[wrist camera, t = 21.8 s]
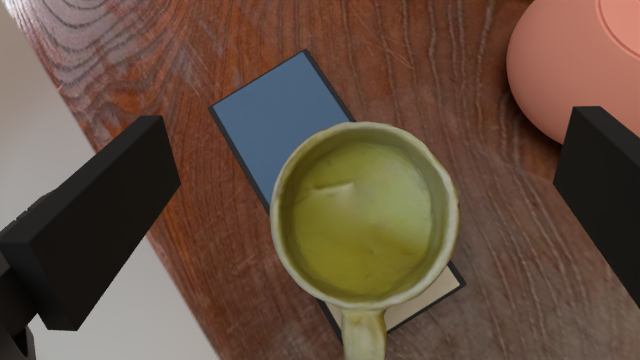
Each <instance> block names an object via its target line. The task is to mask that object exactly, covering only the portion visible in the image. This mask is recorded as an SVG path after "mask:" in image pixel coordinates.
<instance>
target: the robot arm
mask: <svg viewBox="0 0 640 360" xmlns="http://www.w3.org/2000/svg"><path fill="white" fill-rule="evenodd" d="M180 185H181V182H180V178H179V175H178V171H177V168H176V164H175V160H174V157H173V153H172V150H171V146H170V142H169V139H168V135H167V132H166V128H165V124H164V121H163V117H162V115H154V116H140V117H139V118H138V119H136V120H135V121H134V122H133V123H132V124H131V125H129V126H128V127H127V128H126V129H125V130H124V131H123V132H121V133H120V134H119V135H118V136H117V137H116V138H114V139H113V140H112V141H111V142H110V143H109V144H107V145H106V146H105V147H104V148H103V149H102V150H101V151H99V152H98V153H97V154H96V155H95V156H94V157H92V158H91V159H90V160H89V161H88V162H87V163H85V164H84V165H83V166H82V167H81V168H80V169H79V170H77V171H76V172H75V173H74V174H73V175H72V176H71V177H69V178H68V179H67V180H66V181H65V182H64V183H62V184H61V185H60V186H59V187H58V188H56V189H55V190H53V191H51V192H49V193H47V194H46V195H44V196H42V197H40V198H39V199H38V200H37V201H36V202H35V203H33V204H32V205H31V206H30V207H29V208H28V210H27V211H24V212H23V213H22V214H21V215H19V216H18V217H17V218H16V219H17V220H16V221H15V220H14V221H12V222H11V223H10V224H9V225H8V226H6V227H5V228H4V229H3V230H2V231H0V360H36V355H35V346H34V338H33V334H32V333H31V331H30V329H29V327H28V326H27V325H28V323H29V322H30V321H31V320H32V319H33V318H34V316H35V315H36V314H37V313H38V314H39V316H40V318H41V319H42V321H43V322H44V324H45V326H46V328H47V329H48V330H65V331H77V330H78V329H79V327H80V326H81V325H82V323H83V322H84V320H85V319H86V317H87V316H88V315H89V313H90V312H91V311H92V309H93V308H94V306H95V305H96V303H97V302H98V300H99V299H100V298H101V296H102V295H103V294H104V292H105V291H106V289H107V288H108V287H109V285H110V284H111V282H112V281H113V279H114V278H115V276H116V275H117V274H118V272H119V271H120V270H121V268H122V267H123V265H124V264H125V262H126V261H127V260H128V258H129V257H130V255H131V254H132V253H133V251H134V250H135V248H136V247H137V245H138V244H139V243H140V241H141V240H142V238H143V237H144V236H145V234H146V233H147V231H148V230H149V229H150V227H151V226H152V224H153V223H154V222H155V220H156V219H157V217H158V216H159V215H160V213H161V212H162V210H163V209H164V207H165V206H166V205H167V203H168V202H169V200H170V199H171V198H172V196H173V195H174V193H175V192H176V191H177V189H178V188H179V186H180ZM553 185H554V186H555V188H556V189H557V190H558V192H559V193H560V195H561V196H562V198H563V199H564V201H565V202H566V203H567V205H568V206H569V208H570V209H571V211H572V212H573V213H574V215H575V216H576V218H577V219H578V221H579V222H580V224H581V225H582V226H583V228H584V229H585V231H586V232H587V234H588V235H589V237H590V238H591V239H592V241H593V242H594V244H595V245H596V247H597V248H598V250H599V251H600V252H601V254H602V255H603V257H604V258H605V260H606V261H607V263H608V264H609V265H610V267H611V268H612V270H613V271H614V273H615V274H616V276H617V277H618V278H619V280H620V281H621V283H622V284H623V286H624V287H625V288H626V290H627V291H628V293H629V294H630V296H631V297H632V299H633V300H634V301H635V303H636V304H637V306H638V307H639V309H640V138H639V137H638V136H637V135H636V134H634V133H633V132H632V131H631V130H629V129H628V128H627V127H626V126H624V125H623V124H622V123H621V122H619V121H618V120H617V119H616V118H615V117H613V116H612V115H611V114H610V113H608V112H607V111H606V110H605V109H603V108H602V107H601V106H573V108H572V112H571V116H570V120H569V124H568V127H567V131H566V135H565V139H564V142H563V146H562V150H561V154H560V158H559V161H558V165H557V169H556V173H555V177H554V180H553Z"/></svg>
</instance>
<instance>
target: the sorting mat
mask: <svg viewBox="0 0 640 360" xmlns="http://www.w3.org/2000/svg"><path fill="white" fill-rule="evenodd" d="M208 110H209V111H210V113H211V115H212V117H213V118H214V120H215V122H216V124H217V125H218V127H219V129H220V131H221V132H222V134H223V136H224V138H225V139H226V141H227V143H228V145H229V146H230V148H231V150H232V152H233V153H234V155H235V157H236V159H237V160H238V162H239V164H240V166H241V167H242V169H243V171H244V173H245V174H246V176H247V178H248V180H249V181H250V183H251V185H252V187H253V189H254V190H255V192H256V194H257V196H258V197H259V199H260V201H261V203H262V204H263V206H264V208H265V210H266V211H267V213H268V215H269V217H270V203H271V198H272V193H273V189H274V185H275V182H276V179H277V177H278V175H279V173H280V171H281V169H282V167H283V165H284V163H285V162H286V160H287V159H288V157H289V156H290V154H291V153H292V152H293V151H294V150H295V149H296V148H297V147H298V146H299V145H300V144H301V143H302V142H303V141H304V140H306V139H307V138H308V137H309V136H310V135H312V134H314V133H316V132H318V131H320V130H324V129H327V128H329V127H331V126H334V125H337V124H340V123H343V122H356V121H355V119H354V118H353V116H352V115H351V113H350V112H349V110H348V109H347V108H346V106H345V105H344V103H343V102H342V100H341V99H340V97H339V96H338V94H337V93H336V91H335V90H334V88H333V87H332V86H331V84H330V83H329V81H328V80H327V78H326V77H325V75H324V74H323V72H322V71H321V69H320V68H319V66H318V65H317V63H316V62H315V61H314V59H313V58H312V56H311V55H310V53H309V52H308V50H307V49H304V50H302V51H301V52H299V53H297V54H296V55H294V56H292V57H291V58H289V59H287V60H286V61H284V62H282V63H281V64H279V65H278V66H276V67H274V68H273V69H271V70H269V71H268V72H266V73H264V74H263V75H261V76H259V77H258V78H256V79H254V80H253V81H251V82H250V83H248V84H246V85H245V86H243V87H241V88H240V89H238V90H236V91H235V92H233V93H231V94H230V95H228V96H226V97H225V98H223V99H222V100H220V101H218V102H217V103H215V104H213V105H212V106H210V107H208ZM447 266H448V268H449V269H450V271H451V272H452V274H453V275H454V277H455V278H456V280H457V281H458V283H459V284H460V285H459V286H458V287H456V288H454V289H453V290H451V291H450V292H448V293H447V294H445V295H443V296H442V297H440V298H439V299H437V300H435V301H434V302H432V303H431V304H429V305H427V306H426V307H424V308H423V309H421V310H419V311H418V312H416V313H415V314H413V315H411V316H410V317H408V318H407V319H405V320H403V321H402V322H400V323H399V324H397V325H396V326H394V327H392V328H391V329H389V330H388V331H387V334H389V333H390V332H392V331H393V330H395V329H397V328H398V327H400V326H401V325H403V324H405V323H406V322H408V321H409V320H411V319H413V318H414V317H416V316H417V315H419V314H421V313H422V312H424V311H425V310H427V309H428V308H430V307H432V306H433V305H435V304H436V303H438V302H440V301H441V300H443V299H444V298H446V297H448V296H449V295H451V294H452V293H454V292H456V291H457V290H459V289H460V288H462V287H464V286H465V285H466V282H465V281H464V279H463V278H462V276H461V275H460V273H459V272H458V270H457V269H456V268H455V266H454V265H453V263H452V262H451V260H450V261H449V263H448V264H447ZM316 299H317V301H318V303H319V304H320V306H321V308H322V310H323V311H324V313H325V315H326V317H327V318H328V320H329V322H330V324H331V325H332V327H333V329H334V331H335V332H336V334H337V336H338V338H339V339H340V341H341V343H342V345H343V340H342V334H341V329H340V327H339V325H338V324H337V322H336V320H335V319H334V317H333V315H332V313H331V312H330V310H329V308H328V306H327V305H326V303H325V301H323V300H320V299H318V298H316ZM387 334H386V335H387Z"/></svg>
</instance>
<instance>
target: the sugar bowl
mask: <svg viewBox="0 0 640 360" xmlns="http://www.w3.org/2000/svg"><path fill="white" fill-rule="evenodd" d="M506 60H507V75H508V81H509V85H510V88H511V91H512V94H513V96H514V98H515V100H516V102H517V104H518V106H519V107H520V109H521V110H522V112H523V113H524V114H525V116H526V117H527V118H528V119H529V120H530V121H531V122H532V123H533V124H534V125H535V126H536V127H537V128H538V129H539V130H540V131H542V132H543V133H544V134H546V135H547V136H548V137H550V138H551V139H553V140H555V141H557V142H559V143H560V144H562V145H563V142H564V139H565V135H566V131H567V127H568V124H569V120H570V116H571V112H572V108H573V106H601V107H602V108H603V109H605V110H606V111H607V112H608V113H610V114H611V115H612V116H613V117H615V118H616V119H617V120H618V121H619V122H621V123H622V124H623V125H624V126H626V127H627V128H628V129H629V130H631V131H632V132H633V133H634V134H636V135H637V136H638V137H639V138H640V0H534V2H533V3H532V4H531V5H530V6H529V7H528V8H527V9H526V11H525V12H524V14H523V15H522V17H521V18H520V20H519V21H518V23H517V25H516V27H515V29H514V31H513V33H512V35H511V38H510V41H509V45H508V50H507V57H506Z"/></svg>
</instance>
